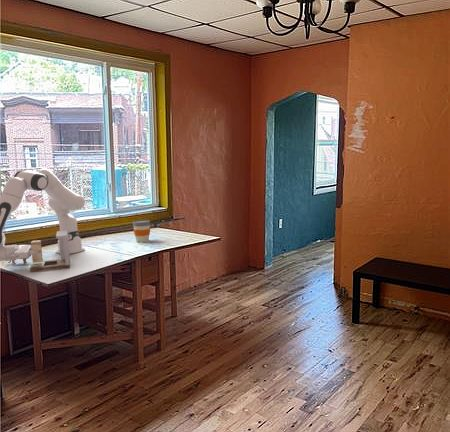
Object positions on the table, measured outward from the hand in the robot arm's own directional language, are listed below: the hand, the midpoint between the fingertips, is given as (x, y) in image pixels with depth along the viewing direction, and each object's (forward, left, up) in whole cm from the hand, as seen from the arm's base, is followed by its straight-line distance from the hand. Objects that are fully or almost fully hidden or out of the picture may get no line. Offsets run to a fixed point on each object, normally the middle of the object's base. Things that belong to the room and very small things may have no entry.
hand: (38, 250), depth 261 cm
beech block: (0, -1, -6) cm, 7 cm away
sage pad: (0, -1, -8) cm, 8 cm away
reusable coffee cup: (-49, +67, -11) cm, 83 cm away
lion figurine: (-16, -12, -11) cm, 23 cm away
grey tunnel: (0, +14, -8) cm, 16 cm away
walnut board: (0, +6, -10) cm, 12 cm away
